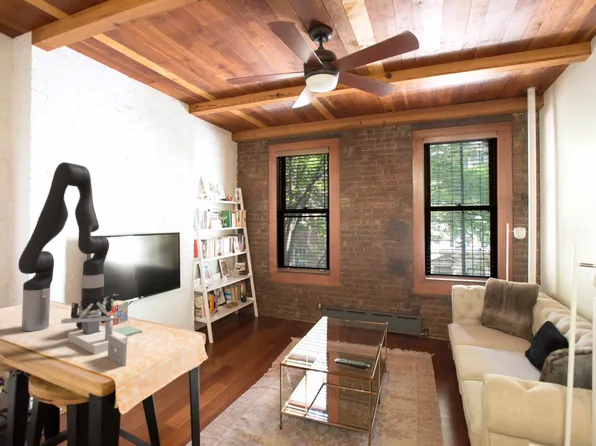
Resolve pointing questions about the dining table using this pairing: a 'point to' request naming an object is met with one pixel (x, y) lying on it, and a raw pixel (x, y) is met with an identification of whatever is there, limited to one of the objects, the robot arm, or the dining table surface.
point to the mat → (128, 330)
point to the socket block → (95, 338)
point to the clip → (87, 319)
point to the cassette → (117, 350)
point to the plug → (91, 324)
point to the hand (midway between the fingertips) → (91, 325)
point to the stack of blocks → (113, 312)
